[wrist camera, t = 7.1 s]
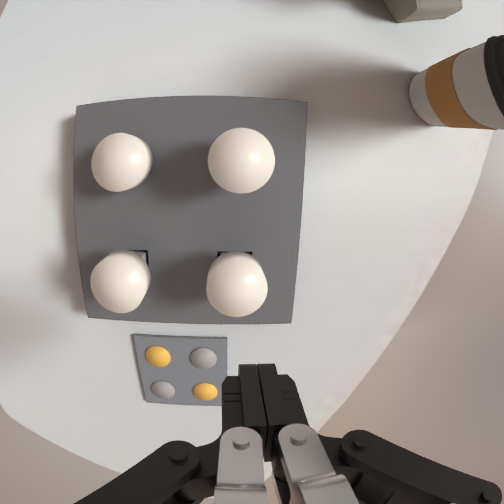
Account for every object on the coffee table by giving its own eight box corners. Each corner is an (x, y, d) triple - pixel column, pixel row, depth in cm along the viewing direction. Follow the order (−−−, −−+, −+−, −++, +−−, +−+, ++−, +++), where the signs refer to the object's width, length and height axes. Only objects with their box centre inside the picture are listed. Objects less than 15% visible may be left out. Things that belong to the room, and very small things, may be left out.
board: (96, 306, 28) (88, 317, 26) (87, 109, 23) (76, 105, 21) (286, 311, 30) (291, 323, 28) (299, 107, 25) (307, 102, 23)
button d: (209, 288, 27) (206, 316, 22) (209, 241, 26) (206, 260, 21) (257, 288, 28) (265, 316, 22) (260, 241, 26) (269, 260, 21)
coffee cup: (444, 67, 24) (538, 42, 10) (460, 133, 27) (560, 135, 12) (390, 63, 24) (489, 20, 10) (408, 137, 27) (521, 134, 12)
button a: (114, 187, 25) (91, 192, 20) (115, 140, 24) (92, 135, 19) (159, 186, 26) (145, 191, 20) (161, 137, 24) (146, 130, 19)
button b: (115, 285, 26) (94, 311, 21) (110, 240, 25) (87, 257, 20) (159, 287, 27) (146, 314, 21) (157, 240, 25) (141, 258, 20)
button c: (210, 187, 25) (206, 192, 19) (212, 135, 23) (209, 126, 18) (262, 188, 25) (273, 194, 20) (265, 137, 24) (276, 129, 19)
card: (147, 400, 32) (146, 403, 32) (134, 333, 30) (132, 336, 29) (227, 403, 33) (227, 406, 33) (227, 337, 31) (227, 340, 30)
